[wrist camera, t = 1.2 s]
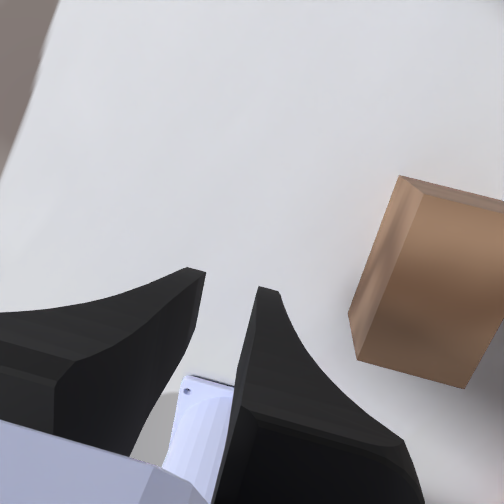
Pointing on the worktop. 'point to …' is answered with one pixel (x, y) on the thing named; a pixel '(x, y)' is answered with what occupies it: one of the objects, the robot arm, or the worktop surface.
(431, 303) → the walnut block
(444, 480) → the worktop surface
